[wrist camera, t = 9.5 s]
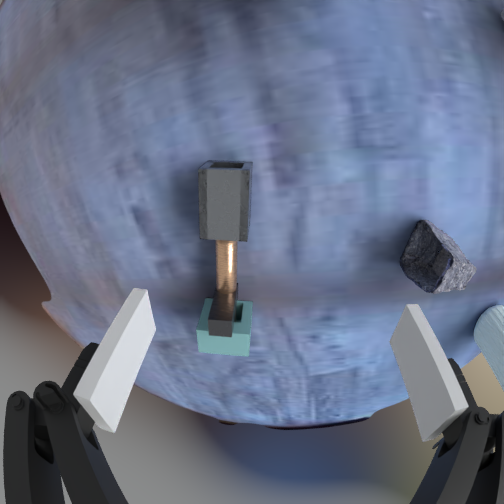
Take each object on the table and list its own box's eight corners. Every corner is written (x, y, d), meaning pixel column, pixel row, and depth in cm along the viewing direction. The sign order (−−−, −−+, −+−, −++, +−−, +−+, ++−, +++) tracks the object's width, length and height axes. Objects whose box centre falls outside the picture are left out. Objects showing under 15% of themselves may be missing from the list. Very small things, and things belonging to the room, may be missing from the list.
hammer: (216, 208, 39) (203, 235, 31) (239, 209, 39) (232, 237, 31) (218, 319, 48) (210, 358, 40) (237, 321, 48) (232, 360, 40)
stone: (386, 250, 44) (418, 206, 37) (423, 257, 46) (453, 218, 39) (412, 311, 36) (455, 267, 29) (448, 310, 38) (487, 272, 31)
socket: (205, 298, 48) (196, 329, 41) (252, 301, 47) (250, 334, 40) (207, 319, 50) (198, 351, 43) (251, 323, 50) (248, 356, 43)
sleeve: (208, 160, 37) (198, 169, 32) (252, 162, 37) (249, 170, 31) (208, 221, 41) (200, 238, 36) (249, 223, 41) (247, 241, 36)
